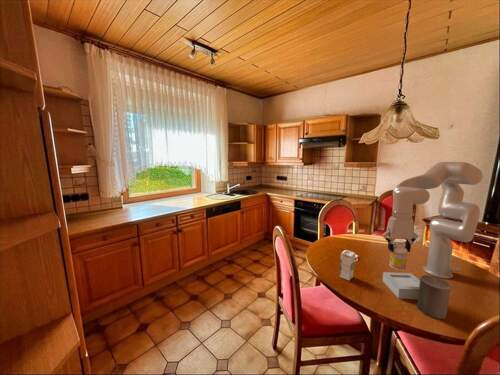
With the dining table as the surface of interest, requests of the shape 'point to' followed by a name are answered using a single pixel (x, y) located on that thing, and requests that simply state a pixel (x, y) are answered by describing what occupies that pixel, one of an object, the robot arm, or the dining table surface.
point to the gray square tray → (402, 284)
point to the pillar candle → (433, 296)
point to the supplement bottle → (398, 256)
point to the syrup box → (347, 265)
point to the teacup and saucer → (356, 257)
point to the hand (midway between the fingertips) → (398, 250)
